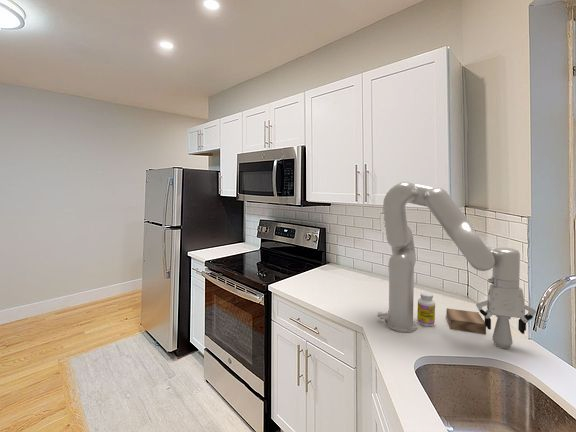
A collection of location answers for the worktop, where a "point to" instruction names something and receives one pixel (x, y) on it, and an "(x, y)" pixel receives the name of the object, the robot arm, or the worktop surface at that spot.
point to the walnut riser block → (465, 321)
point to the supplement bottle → (426, 309)
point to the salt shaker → (502, 333)
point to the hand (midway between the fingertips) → (504, 329)
